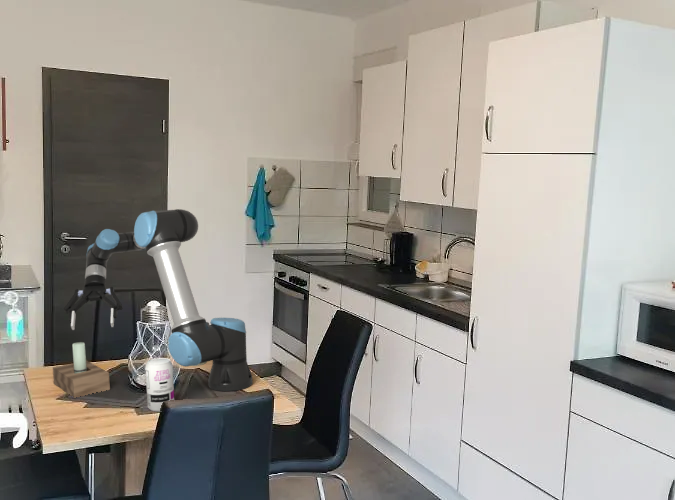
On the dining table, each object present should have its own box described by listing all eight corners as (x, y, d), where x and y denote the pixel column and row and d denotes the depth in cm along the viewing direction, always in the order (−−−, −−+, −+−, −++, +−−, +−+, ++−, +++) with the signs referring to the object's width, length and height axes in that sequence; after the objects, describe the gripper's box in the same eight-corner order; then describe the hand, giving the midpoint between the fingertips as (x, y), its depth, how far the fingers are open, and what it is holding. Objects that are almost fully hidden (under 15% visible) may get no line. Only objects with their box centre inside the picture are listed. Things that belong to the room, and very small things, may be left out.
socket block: (109, 389, 231) (108, 372, 231) (74, 398, 224) (73, 380, 223) (87, 376, 246) (86, 360, 246) (53, 383, 239) (52, 367, 238)
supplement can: (161, 401, 219) (158, 356, 217) (180, 405, 215) (177, 359, 213) (142, 409, 212) (139, 362, 210) (161, 413, 208) (158, 366, 206)
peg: (90, 385, 235) (87, 343, 233) (77, 388, 232) (74, 346, 230) (85, 382, 238) (82, 341, 236) (73, 385, 235) (69, 343, 233)
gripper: (130, 283, 264) (129, 329, 251) (62, 287, 259) (58, 334, 246) (128, 271, 258) (127, 318, 245) (58, 275, 253) (53, 323, 240)
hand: (92, 326), depth 246 cm, fingers open, 13 cm apart
